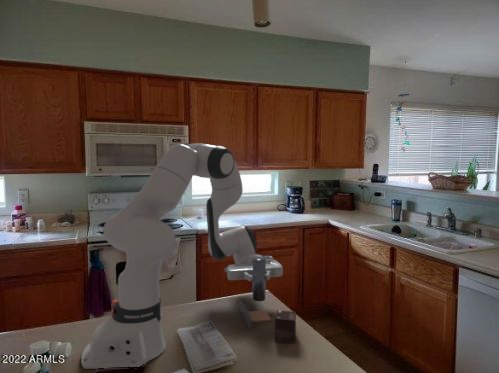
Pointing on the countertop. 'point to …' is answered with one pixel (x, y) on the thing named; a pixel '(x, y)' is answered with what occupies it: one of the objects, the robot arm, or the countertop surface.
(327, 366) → the countertop surface
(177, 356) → the countertop surface
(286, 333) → the box
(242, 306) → the wall
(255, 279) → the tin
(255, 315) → the coaster
